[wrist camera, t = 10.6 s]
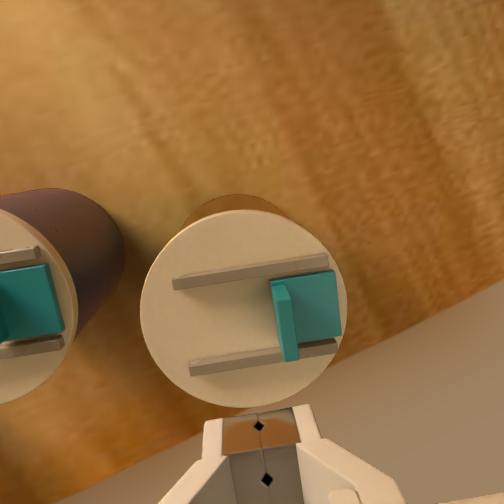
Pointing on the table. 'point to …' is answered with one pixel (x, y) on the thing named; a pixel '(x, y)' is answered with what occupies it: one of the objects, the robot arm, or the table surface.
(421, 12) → the table surface
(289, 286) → the teal slider
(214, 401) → the olive tumbler
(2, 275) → the teal ribbed square plate
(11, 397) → the navy lidded canister
